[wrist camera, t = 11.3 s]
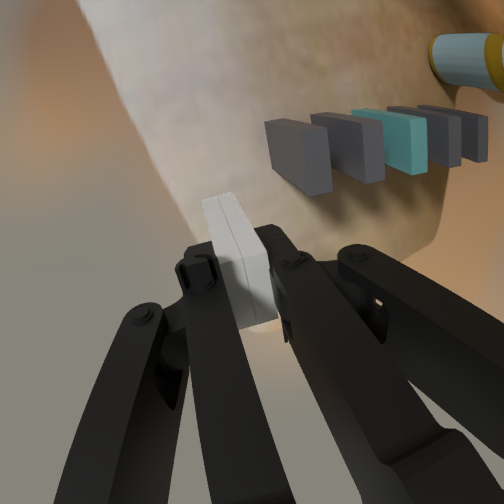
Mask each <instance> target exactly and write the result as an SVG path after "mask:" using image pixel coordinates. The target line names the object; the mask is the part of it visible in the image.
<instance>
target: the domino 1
mask: <svg viewBox="0 0 504 504" xmlns="http://www.w3.org/2000/svg"><path fill="white" fill-rule="evenodd" d="M264 123H265V129H266V135H267V141H268V146H269V152H270V158H271V164H272V169H274V170H275V171H276V172H278V173H279V174H280V175H282V176H283V177H284V178H286V179H287V180H288V181H290V182H291V183H292V184H294V185H295V186H296V187H297V188H299V189H300V190H301V191H303V192H304V193H305V194H306V195H308V196H309V197H311V196H316V195H320V194H325V193H329V192H333V182H332V171H331V161H330V151H329V142H328V134H327V127H322V126H318V125H313V124H309V123H304V122H299V121H294V120H289V119H277V120H271V121H265V122H264Z"/></svg>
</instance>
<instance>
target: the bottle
mask: <svg viewBox="0 0 504 504" xmlns="http://www.w3.org/2000/svg"><path fill="white" fill-rule="evenodd" d="M429 61H430V64H431V67H432V69H433V71H434V72H435V74H436V75H437V76H438V78H439V79H441V80H442V81H443V82H445V83H447V84H452V85H460V86H469V87H476V88H483V89H490V90H496V91H501V92H504V36H503V35H501V34H497V33H462V34H444V35H438V36H436V37H434V38H433V40H432V41H431V43H430V47H429Z"/></svg>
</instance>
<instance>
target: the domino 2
mask: <svg viewBox="0 0 504 504" xmlns="http://www.w3.org/2000/svg"><path fill="white" fill-rule="evenodd" d="M310 115H311V122H312V124H313V125H318V126H322V127H327V134H328V142H329V151H330V161H331V167H333V168H335V169H337V170H339V171H341V172H343V173H345V174H347V175H349V176H351V177H353V178H355V179H357V180H359V181H361V182H362V183H364V184H370V183H375V182H379V181H384V180H386V177H385V152H384V136H383V123H382V121H380V120H375V119H369V118H364V117H358V116H351V115H345V114H338V113H330V112H325V113H317V114H310Z"/></svg>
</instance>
